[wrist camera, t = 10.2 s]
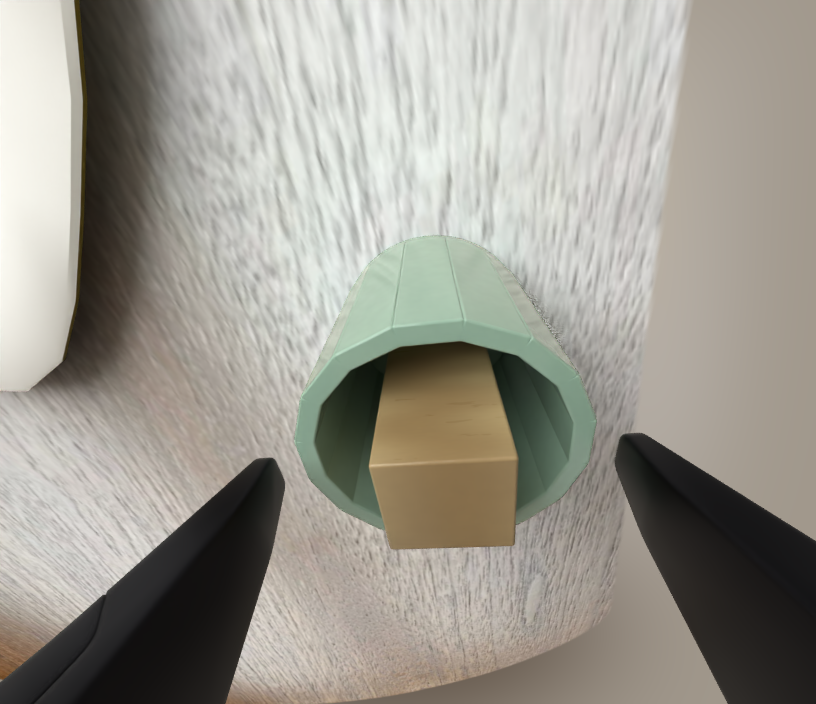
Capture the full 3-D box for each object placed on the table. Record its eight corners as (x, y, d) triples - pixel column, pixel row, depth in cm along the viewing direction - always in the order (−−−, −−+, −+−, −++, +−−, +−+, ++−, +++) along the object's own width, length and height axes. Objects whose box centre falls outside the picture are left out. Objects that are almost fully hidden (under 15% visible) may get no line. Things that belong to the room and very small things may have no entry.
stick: (471, 292, 13) (519, 458, 6) (473, 355, 15) (515, 547, 8) (396, 299, 14) (367, 466, 7) (406, 361, 15) (389, 551, 8)
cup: (524, 223, 12) (620, 303, 6) (518, 384, 16) (576, 533, 10) (329, 247, 13) (252, 339, 7) (365, 397, 17) (334, 543, 11)
